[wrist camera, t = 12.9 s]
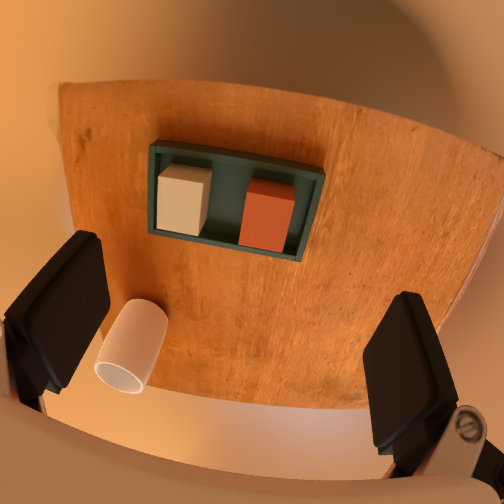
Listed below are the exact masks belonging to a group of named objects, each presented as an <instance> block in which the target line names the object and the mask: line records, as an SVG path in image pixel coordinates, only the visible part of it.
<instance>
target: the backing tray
mask: <svg viewBox="0 0 504 504" xmlns="http://www.w3.org/2000/svg"><path fill="white" fill-rule="evenodd" d="M171 163H174V164H181V165H187V166H194V167H200V168H206V169H212V177H211V185H210V194H209V202H208V211H207V218H206V221H205V223H204V225H203V227H202V229H201V231H200V233H199V235H198V236H194V235H189V234H184V233H179V232H174V231H168V230H163V229H158V228H157V199H158V176H159V175H160V174H161V173H162V172H163V171H164V170H165V169H166V168H167V167H168V166H169V165H170V164H171ZM325 176H326V175H325V172H324V169H323V168H321V167H317V166H313V165H308V164H304V163H299V162H294V161H289V160H285V159H280V158H274V157H269V156H264V155H259V154H253V153H248V152H242V151H236V150H230V149H224V148H217V147H211V146H204V145H197V144H189V143H181V142H173V141H165V140H156V141H155V142H154V143H152V144H151V145H149V166H148V233H149V234H155V235H160V236H165V237H171V238H176V239H181V240H187V241H192V242H197V243H202V244H208V245H213V246H218V247H223V248H229V249H234V250H239V251H244V252H250V253H255V254H260V255H266V256H271V257H276V258H281V259H287V260H292V261H297V262H301V260H302V257H303V253H304V250H305V247H306V243H307V240H308V237H309V233H310V230H311V226H312V223H313V219H314V216H315V212H316V209H317V205H318V202H319V198H320V195H321V191H322V187H323V184H324V180H325ZM251 177H254V178H259V179H264V180H270V181H275V182H280V183H285V184H290V185H294V192H295V204H294V208H293V212H292V216H291V220H290V224H289V228H288V232H287V236H286V240H285V244H284V248H283V252H282V253H280V252H275V251H270V250H264V249H259V248H254V247H249V246H243V245H239V244H238V243H239V237H240V231H241V225H242V218H243V212H244V206H245V200H246V194H247V190H248V187H249V183H250V180H251Z"/></svg>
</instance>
